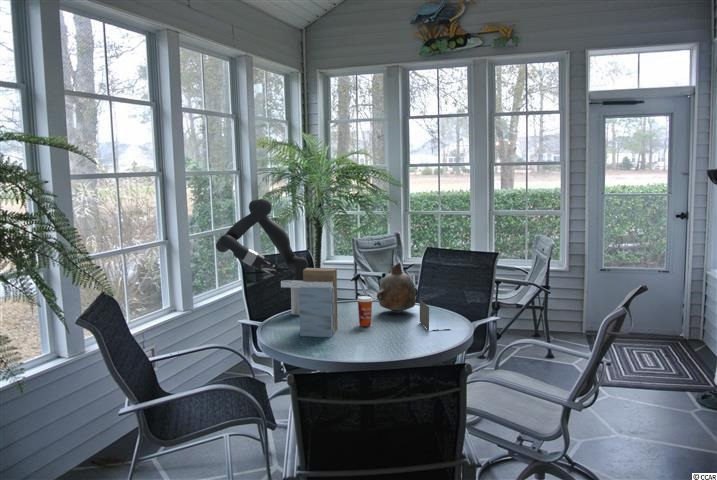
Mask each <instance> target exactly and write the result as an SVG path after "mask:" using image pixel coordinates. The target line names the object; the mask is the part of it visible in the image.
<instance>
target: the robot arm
mask: <svg viewBox="0 0 717 480" xmlns="http://www.w3.org/2000/svg"><path fill="white" fill-rule="evenodd" d="M272 209H273V206H272V202H271V201H270V200H268V199H266V198H259V199H253V200H252V201H250V202H249V204H248V210H249V213H248V214H247V215H245V216H244V217H243V218H240V219H239V220H237V222H235V223H234V224H233V225H232V226H231V227H230V228H229V229H228V231H227V232H226V233H225V234H223V235H221V236H220V237H219V239H218V240H217V241H216V243H215V248H216V251H218V252H220V253H226V252H228V251H231V252H232V255H233V257H235V258H236V259H238V260H240V261H242V262H243V263H245V264H246V265H248V266H250V267H252V268H254V269H255V270H260V271H263V272H264V273H265V274H271V275H273V276H275V277H278V276H279V274H280V275H282V274H283V273H284V272H285V270H284V269H282V268H281V267H279V265H278V264H276V263H275V262H272V261H270V260H267V261H266V260H265V255H262V254H260V253H258V252H257V251H255V250H253V249H250V248H249V247H246V246H245V245H243V244H242V243H240V241H238V240H240V239H241V238H242V236H244V235H245V234H246V233H247V232H248V231H249V230H250V229H251V228H252V227H253V226H254V225H256V224H257V223H258V224H259V225H260V227H261V228H262V230H264V232H265V233H266V235H267V236H268V238H269V240H270V241H271V242H272V244H273V246H274V247H275V248H276V250H277V251H278V252H279V254H280V256H281V257H282V260H283V261H284V263H285V264H286V267H287V269H288V270H289V271H290V272H292V273H294V277H293V278H292V279H291V280H296V281H303V270H304V269H306V268H309V262H308V260H307V259H306V258H305V257H302V256H297V255H296V254H295V252H294V251H293V249H292V247H291V241H290V238H289V236H288V234H287V232H286V231H285V229H284V228H283V227H282V226H281V225H280V224H278V223H277V222H276V221H274V220H273V219H272V218H270V217H269V216H268V215H270V213H271V212H272ZM290 294H291V295H290V298H291V299H290V302H291V303H290V308H291V316H300V310H299V288H290Z"/></svg>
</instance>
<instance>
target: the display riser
mask: <svg viewBox="0 0 717 480" xmlns="http://www.w3.org/2000/svg"><path fill="white" fill-rule="evenodd" d="M303 281H333V288H332V289H327V288H299V310H300V315H299V336H301V337H315V338H316V337H317V338H318V337H321V338H332V337H333V336H334V334H335V333H336V332H337V331H338V328H339V327H338V269H337V268H330V267H329V268H328V267H327V268H325V267H321V268H320V267H308V268H306V269H304V270H303Z"/></svg>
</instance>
